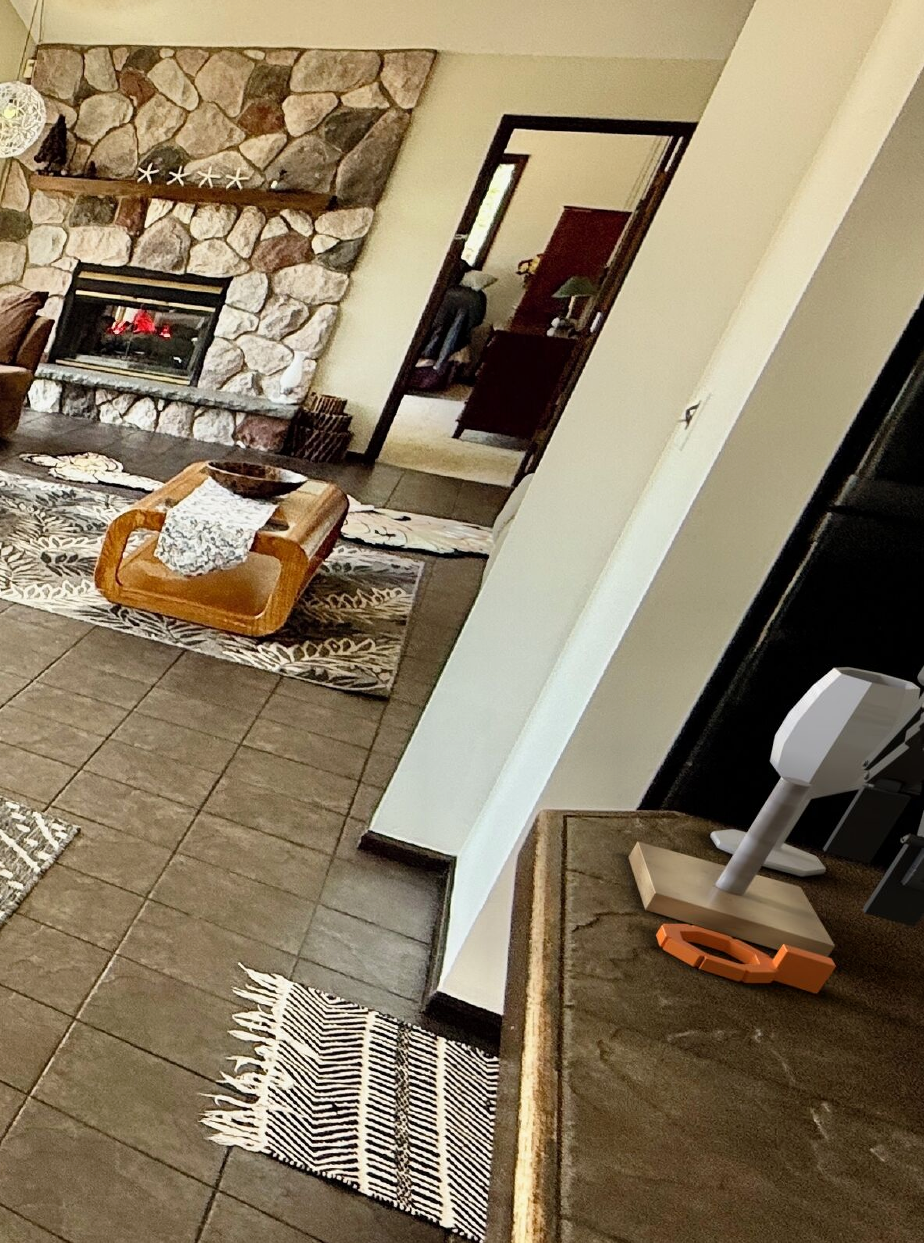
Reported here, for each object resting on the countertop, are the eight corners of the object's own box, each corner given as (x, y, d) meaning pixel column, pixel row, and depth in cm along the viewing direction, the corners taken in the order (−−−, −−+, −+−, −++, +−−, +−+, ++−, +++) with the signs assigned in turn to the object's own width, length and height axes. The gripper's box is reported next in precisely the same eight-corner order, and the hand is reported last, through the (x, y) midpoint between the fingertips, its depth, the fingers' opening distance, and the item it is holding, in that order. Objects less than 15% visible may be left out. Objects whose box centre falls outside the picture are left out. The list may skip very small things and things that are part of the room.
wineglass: (829, 865, 125) (947, 686, 116) (815, 886, 120) (937, 701, 111) (716, 828, 131) (821, 656, 123) (699, 847, 126) (806, 669, 118)
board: (789, 903, 116) (870, 780, 110) (823, 964, 106) (913, 831, 100) (628, 857, 123) (696, 738, 117) (644, 909, 113) (720, 782, 107)
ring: (805, 972, 104) (824, 944, 103) (824, 1009, 99) (844, 980, 98) (652, 925, 110) (668, 898, 109) (662, 957, 105) (679, 930, 104)
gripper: (898, 605, 101) (772, 819, 109) (997, 679, 83) (837, 928, 91) (1032, 628, 97) (890, 848, 105) (1167, 710, 79) (983, 968, 87)
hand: (865, 886), depth 98 cm, fingers open, 13 cm apart
